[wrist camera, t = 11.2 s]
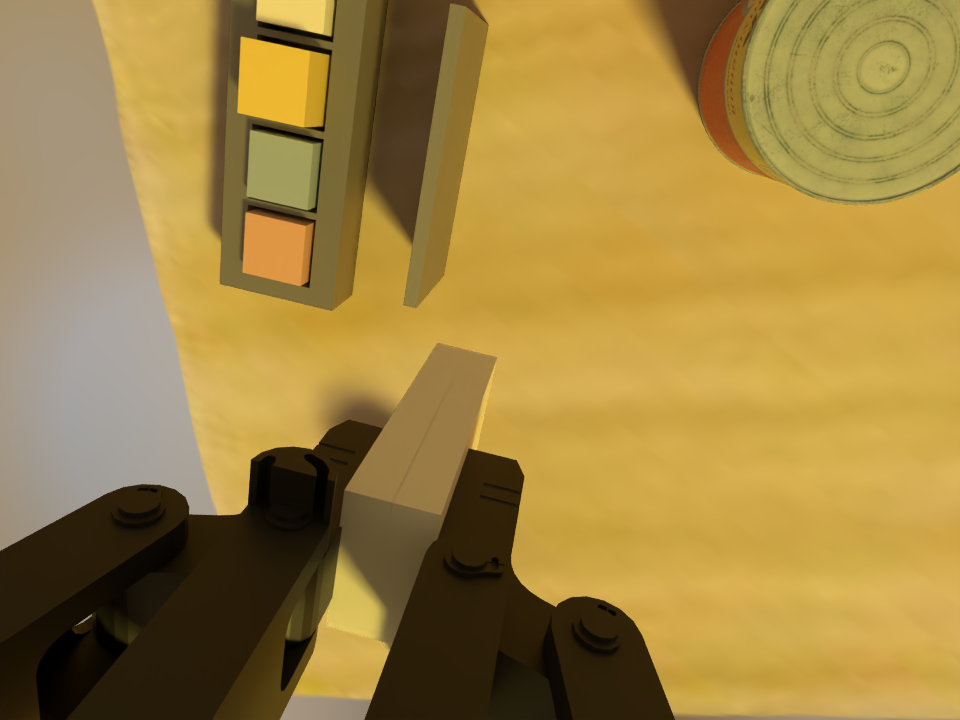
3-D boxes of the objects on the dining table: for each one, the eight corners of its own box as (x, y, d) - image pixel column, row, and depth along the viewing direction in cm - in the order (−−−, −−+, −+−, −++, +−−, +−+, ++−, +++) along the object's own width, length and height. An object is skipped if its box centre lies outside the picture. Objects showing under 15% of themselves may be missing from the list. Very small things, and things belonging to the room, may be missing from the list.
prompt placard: (473, 22, 40) (447, 2, 32) (488, 25, 39) (466, 6, 32) (430, 272, 46) (400, 304, 38) (443, 275, 46) (416, 307, 38)
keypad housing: (267, -77, 39) (234, -96, 36) (394, -52, 39) (374, -69, 35) (247, 270, 48) (219, 283, 44) (351, 294, 47) (331, 310, 44)
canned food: (873, -74, 35) (1006, -157, 24) (926, 126, 38) (1065, 134, 27) (670, 31, 38) (704, 1, 27) (733, 208, 41) (787, 245, 30)
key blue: (275, 128, 42) (250, 129, 39) (334, 141, 42) (313, 143, 39) (271, 189, 44) (246, 196, 41) (327, 202, 44) (307, 210, 40)
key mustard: (269, 42, 39) (240, 36, 36) (333, 55, 39) (310, 51, 35) (265, 112, 40) (237, 112, 37) (326, 125, 40) (303, 127, 37)
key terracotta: (270, 204, 44) (245, 212, 41) (326, 217, 44) (305, 226, 41) (266, 260, 46) (242, 272, 43) (320, 273, 45) (300, 286, 42)
